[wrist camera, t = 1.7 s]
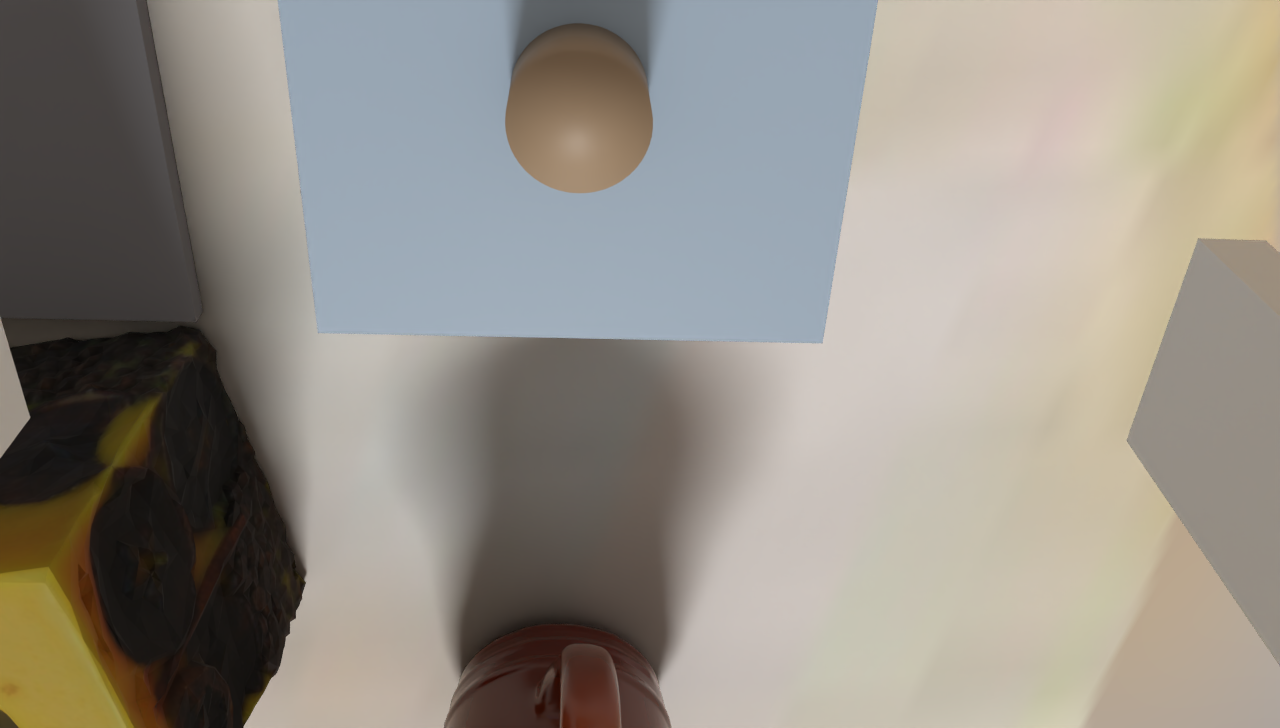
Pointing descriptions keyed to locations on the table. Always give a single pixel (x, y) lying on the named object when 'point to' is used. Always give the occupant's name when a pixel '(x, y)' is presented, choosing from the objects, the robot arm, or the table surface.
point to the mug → (558, 683)
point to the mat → (88, 168)
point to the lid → (575, 164)
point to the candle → (136, 543)
